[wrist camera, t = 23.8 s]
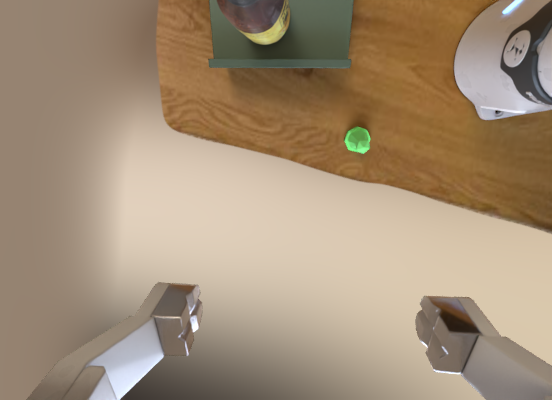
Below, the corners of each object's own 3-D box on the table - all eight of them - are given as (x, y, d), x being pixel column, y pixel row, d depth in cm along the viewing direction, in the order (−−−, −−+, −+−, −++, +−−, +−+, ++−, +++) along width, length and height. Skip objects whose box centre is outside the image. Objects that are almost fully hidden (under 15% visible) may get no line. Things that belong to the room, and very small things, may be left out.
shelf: (348, -28, 39) (363, -56, 30) (339, 68, 44) (350, 67, 35) (219, -26, 40) (198, -53, 31) (226, 67, 45) (209, 67, 36)
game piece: (356, 156, 49) (363, 166, 44) (338, 140, 49) (344, 149, 43) (375, 137, 48) (384, 146, 42) (357, 120, 47) (364, 127, 42)
